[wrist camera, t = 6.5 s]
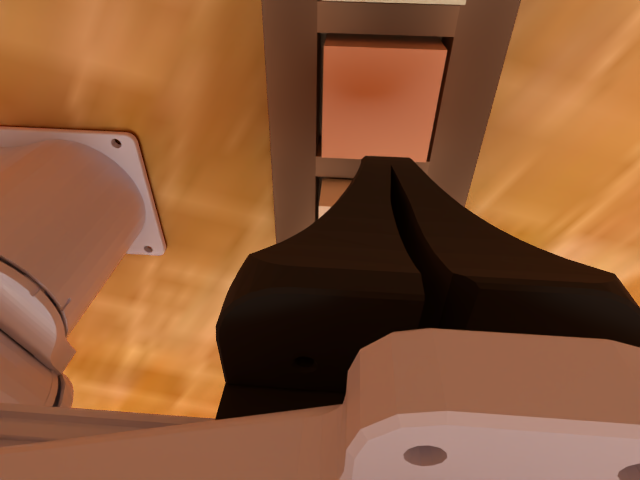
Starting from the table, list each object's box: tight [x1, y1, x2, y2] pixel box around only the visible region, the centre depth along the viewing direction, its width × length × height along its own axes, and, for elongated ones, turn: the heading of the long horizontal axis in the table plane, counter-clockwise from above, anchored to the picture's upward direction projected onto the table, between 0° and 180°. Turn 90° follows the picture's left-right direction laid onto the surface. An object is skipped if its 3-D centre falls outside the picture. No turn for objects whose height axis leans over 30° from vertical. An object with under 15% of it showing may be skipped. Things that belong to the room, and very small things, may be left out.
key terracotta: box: [322, 33, 447, 162], centre depth 17 cm, size 4×4×2 cm
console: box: [262, 0, 521, 244], centre depth 16 cm, size 9×26×3 cm, turn 179°
